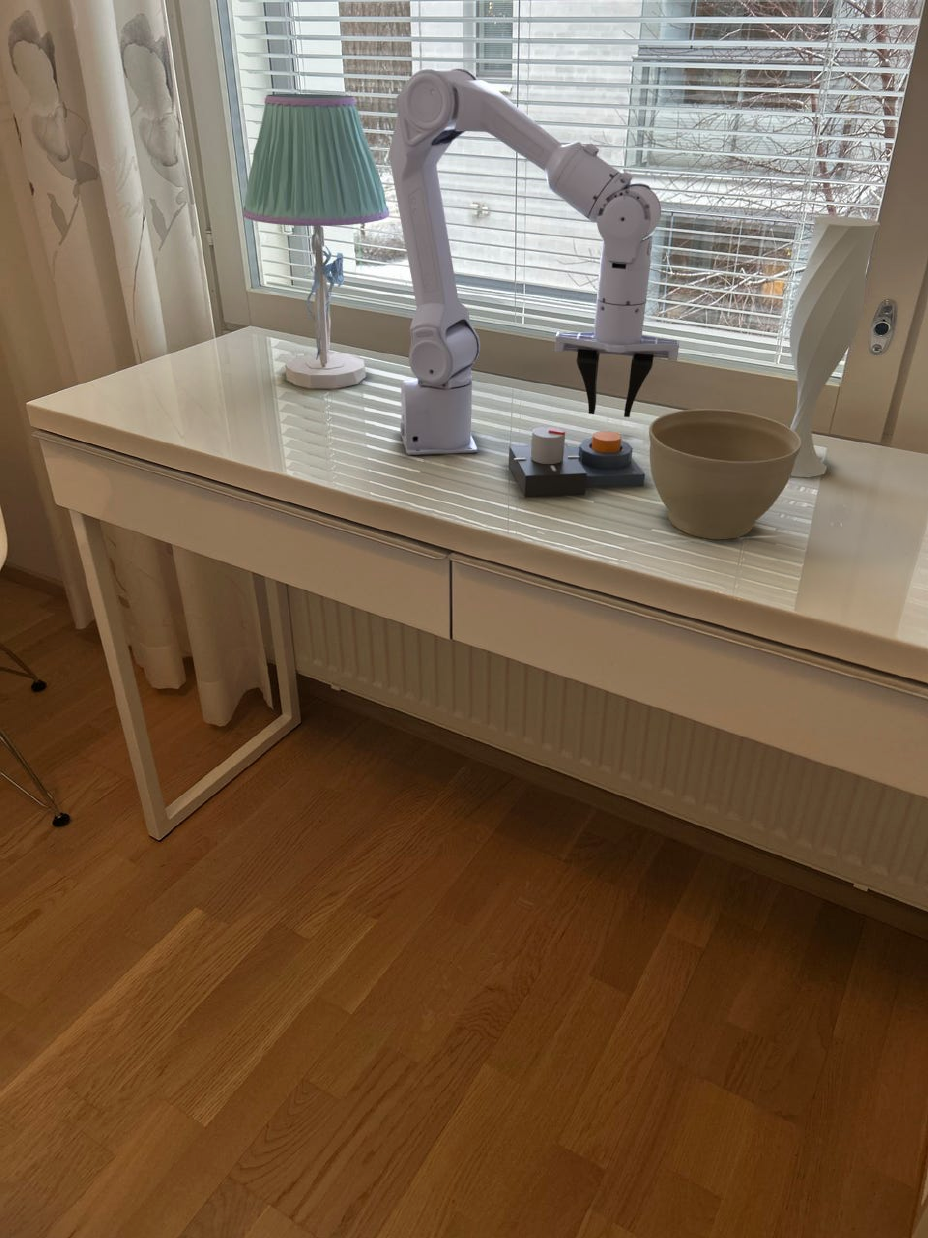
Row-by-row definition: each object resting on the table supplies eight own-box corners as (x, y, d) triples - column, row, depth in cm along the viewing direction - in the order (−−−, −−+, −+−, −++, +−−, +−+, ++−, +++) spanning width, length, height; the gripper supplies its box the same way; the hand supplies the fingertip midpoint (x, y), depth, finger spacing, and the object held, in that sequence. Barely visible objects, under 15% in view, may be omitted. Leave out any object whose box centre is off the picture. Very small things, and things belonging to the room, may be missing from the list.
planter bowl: (634, 490, 115) (645, 405, 110) (768, 498, 114) (786, 412, 109) (642, 550, 102) (655, 455, 96) (794, 559, 101) (816, 464, 95)
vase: (791, 481, 119) (846, 228, 104) (746, 458, 125) (791, 217, 110) (841, 470, 123) (902, 224, 107) (794, 448, 129) (845, 213, 113)
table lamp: (387, 399, 143) (380, 101, 123) (245, 396, 143) (214, 97, 123) (397, 359, 162) (393, 94, 141) (272, 356, 162) (249, 90, 141)
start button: (623, 453, 117) (625, 440, 117) (595, 454, 117) (597, 441, 116) (615, 443, 120) (616, 430, 120) (588, 444, 120) (589, 431, 119)
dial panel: (587, 495, 114) (589, 471, 112) (521, 498, 113) (522, 474, 111) (567, 464, 122) (569, 441, 121) (505, 467, 121) (506, 444, 120)
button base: (643, 486, 117) (647, 460, 115) (585, 489, 116) (587, 462, 114) (620, 456, 125) (622, 431, 123) (565, 458, 124) (567, 433, 122)
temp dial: (526, 461, 115) (528, 432, 113) (536, 450, 118) (538, 422, 116) (558, 466, 114) (560, 437, 112) (566, 455, 117) (569, 426, 115)
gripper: (555, 303, 107) (547, 418, 114) (684, 311, 105) (668, 428, 112) (562, 290, 113) (554, 400, 120) (684, 298, 111) (669, 409, 118)
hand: (609, 412), depth 116 cm, fingers open, 4 cm apart
